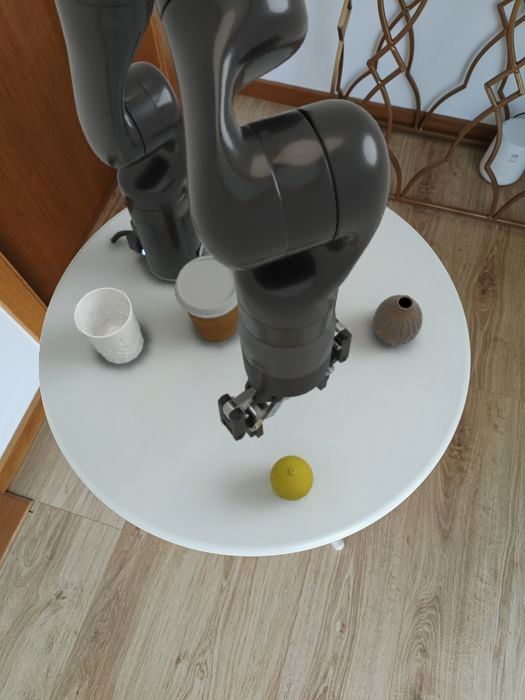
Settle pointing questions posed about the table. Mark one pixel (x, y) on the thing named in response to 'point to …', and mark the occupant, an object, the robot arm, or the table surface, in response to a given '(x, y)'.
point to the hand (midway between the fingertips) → (286, 405)
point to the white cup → (110, 324)
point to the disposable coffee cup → (209, 297)
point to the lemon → (291, 478)
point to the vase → (398, 320)
